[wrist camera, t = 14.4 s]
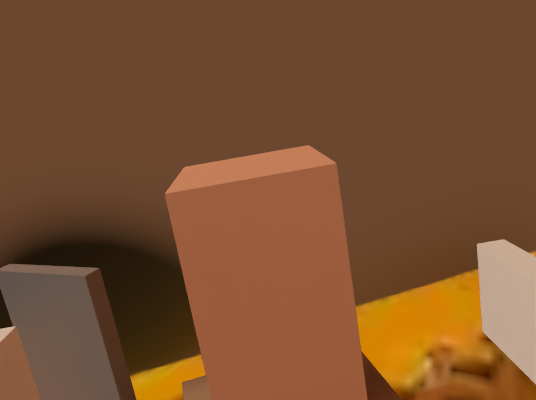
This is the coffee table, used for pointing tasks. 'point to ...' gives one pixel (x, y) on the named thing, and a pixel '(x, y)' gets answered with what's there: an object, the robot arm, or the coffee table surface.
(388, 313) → the coffee table surface
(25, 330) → the charcoal sign
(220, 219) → the terracotta block
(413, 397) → the coffee table surface
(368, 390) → the walnut block
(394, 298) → the coffee table surface
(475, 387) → the coffee table surface
